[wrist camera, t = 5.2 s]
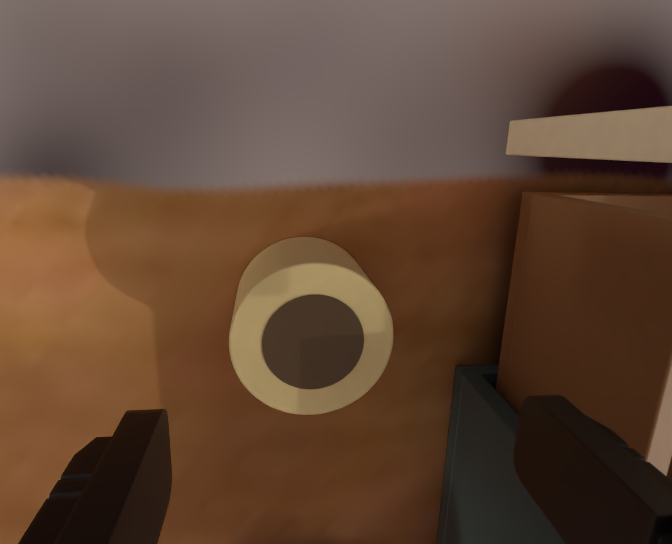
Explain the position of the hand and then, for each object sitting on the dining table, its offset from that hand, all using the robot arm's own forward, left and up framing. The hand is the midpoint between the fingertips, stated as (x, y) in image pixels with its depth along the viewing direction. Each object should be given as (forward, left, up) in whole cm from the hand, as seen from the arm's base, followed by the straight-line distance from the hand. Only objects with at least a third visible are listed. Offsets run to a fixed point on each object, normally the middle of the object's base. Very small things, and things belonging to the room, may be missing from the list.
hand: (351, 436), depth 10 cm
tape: (0, 0, -8) cm, 8 cm away
